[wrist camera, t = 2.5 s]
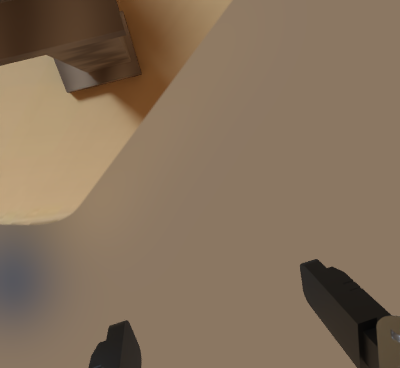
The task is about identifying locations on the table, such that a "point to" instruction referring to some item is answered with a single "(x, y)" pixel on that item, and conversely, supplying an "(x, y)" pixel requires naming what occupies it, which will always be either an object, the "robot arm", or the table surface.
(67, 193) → the table surface
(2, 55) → the walnut stand
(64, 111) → the table surface
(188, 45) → the table surface
